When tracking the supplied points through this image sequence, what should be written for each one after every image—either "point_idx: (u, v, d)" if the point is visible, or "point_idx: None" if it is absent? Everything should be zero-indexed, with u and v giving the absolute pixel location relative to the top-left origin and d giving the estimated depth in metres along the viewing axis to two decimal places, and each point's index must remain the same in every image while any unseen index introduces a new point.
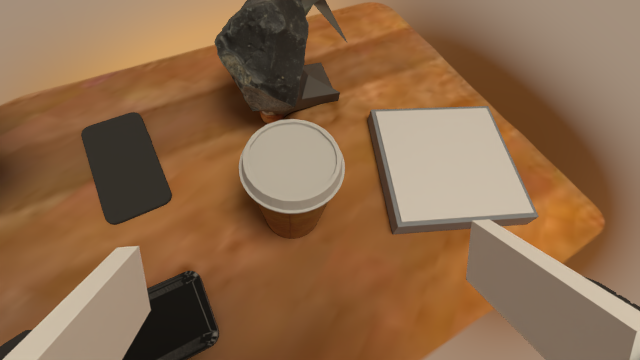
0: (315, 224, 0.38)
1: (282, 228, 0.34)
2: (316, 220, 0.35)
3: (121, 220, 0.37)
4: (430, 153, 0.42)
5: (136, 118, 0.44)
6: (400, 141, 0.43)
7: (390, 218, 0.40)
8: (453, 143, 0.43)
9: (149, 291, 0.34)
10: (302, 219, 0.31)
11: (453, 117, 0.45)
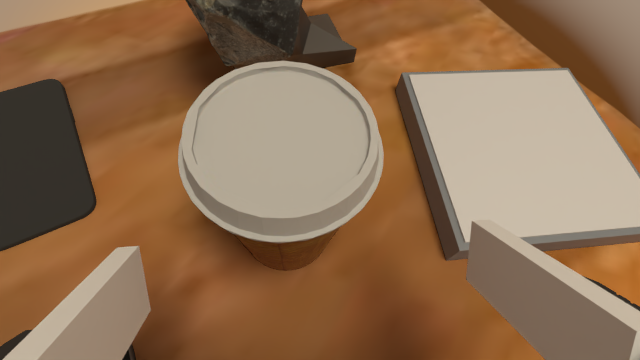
0: None
1: (269, 259, 0.20)
2: (327, 243, 0.21)
3: (6, 244, 0.23)
4: (496, 134, 0.28)
5: (54, 87, 0.30)
6: (449, 116, 0.28)
7: (440, 234, 0.25)
8: (528, 119, 0.29)
9: None
10: (303, 247, 0.17)
11: (522, 82, 0.31)
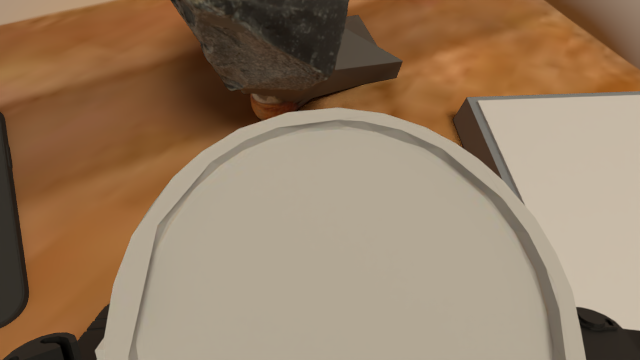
0: None
1: None
2: None
3: None
4: (614, 189, 0.19)
5: None
6: (542, 162, 0.20)
7: None
8: None
9: None
10: None
11: (633, 111, 0.23)
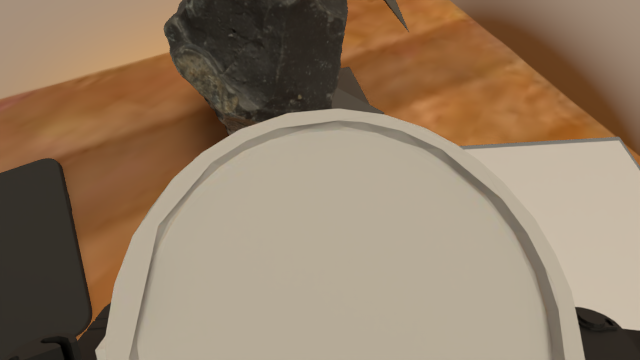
0: None
1: None
2: None
3: None
4: (546, 226, 0.24)
5: (50, 168, 0.27)
6: None
7: None
8: (580, 205, 0.25)
9: None
10: None
11: (570, 158, 0.28)
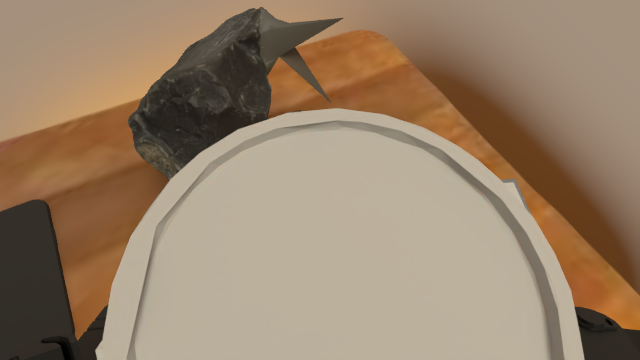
0: None
1: None
2: None
3: None
4: None
5: (39, 209, 0.32)
6: None
7: None
8: None
9: None
10: None
11: None
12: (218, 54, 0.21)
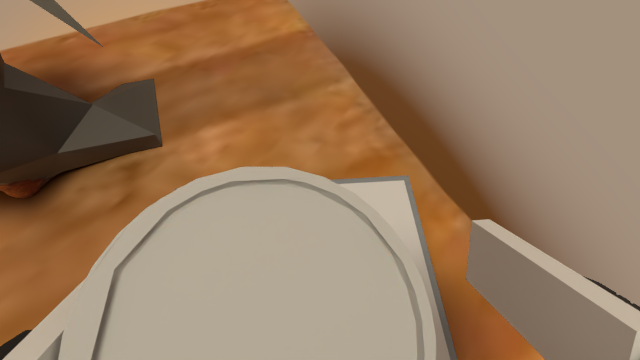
0: None
1: None
2: None
3: None
4: None
5: None
6: None
7: None
8: None
9: None
10: None
11: None
12: None
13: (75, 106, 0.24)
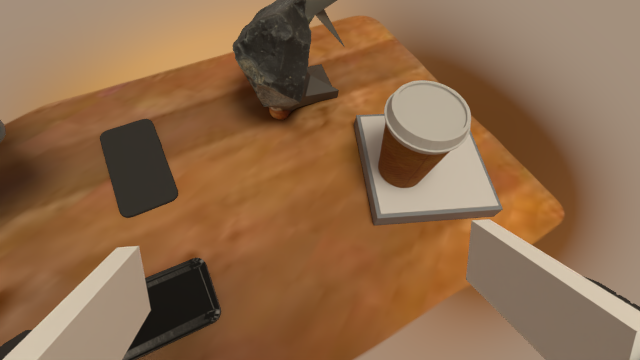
0: None
1: (405, 175, 0.41)
2: None
3: (133, 214, 0.43)
4: None
5: (148, 124, 0.50)
6: (381, 143, 0.48)
7: (371, 211, 0.45)
8: None
9: (162, 274, 0.39)
10: (431, 163, 0.38)
11: None
12: (286, 8, 0.39)
13: (308, 75, 0.52)
